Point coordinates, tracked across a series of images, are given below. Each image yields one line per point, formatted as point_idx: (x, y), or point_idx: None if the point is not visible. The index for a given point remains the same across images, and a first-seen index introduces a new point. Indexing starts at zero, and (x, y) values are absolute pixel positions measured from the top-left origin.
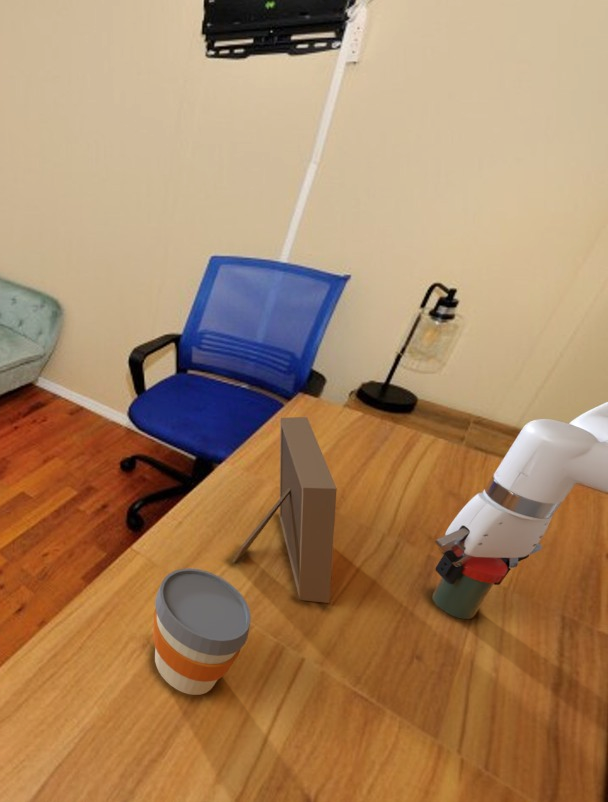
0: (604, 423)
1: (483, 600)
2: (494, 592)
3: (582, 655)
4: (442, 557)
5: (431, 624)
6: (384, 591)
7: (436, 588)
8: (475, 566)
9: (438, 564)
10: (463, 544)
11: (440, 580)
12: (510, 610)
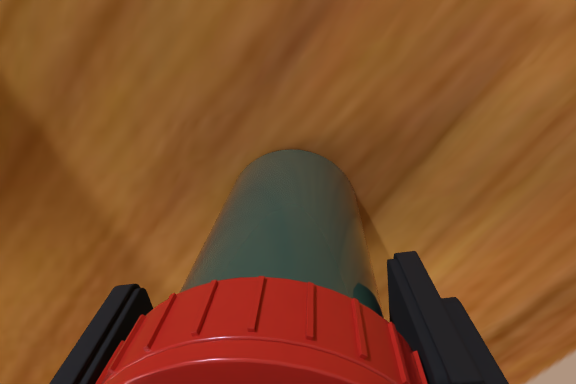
0: None
1: None
2: (520, 115)
3: (564, 331)
4: (59, 372)
5: (176, 289)
6: (65, 178)
7: (227, 198)
8: None
9: (97, 318)
10: (217, 372)
11: (218, 217)
12: (499, 200)
